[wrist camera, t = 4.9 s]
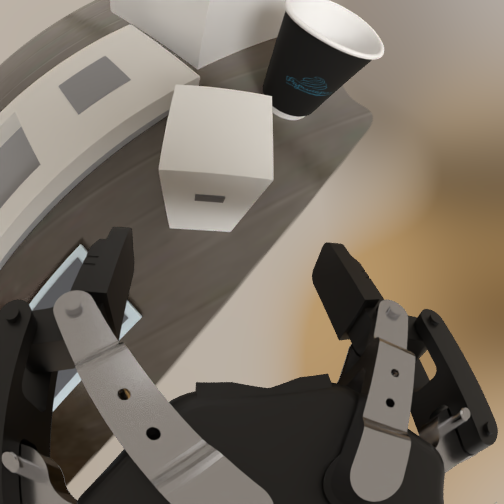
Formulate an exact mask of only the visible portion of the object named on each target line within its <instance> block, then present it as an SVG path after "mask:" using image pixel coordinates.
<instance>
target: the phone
mask: <svg viewBox="0 0 504 504" xmlns="http://www.w3.org/2000/svg"><path fill="white" fill-rule="evenodd" d="M87 253H88V251H87V250H86V249H85V247H84V246H83V245H82V244H80V245H79V246H78V247H77V248H76V249H75V250H74V252H73V253H72V254H71V255H70V256H69V257H68V258H67V259H66V260H65V261H64V263H63V264H62V265H61V266H60V267H59V268H58V269H57V271H56V272H55V273H54V274H53V275H52V276H51V278H50V279H49V280H48V281H47V282H46V284H45V285H44V286H43V287H42V288H41V290H40V291H39V292H38V294H37V295H36V296H35V297H34V299H33V300H32V301H31V303H30V304H29V306H30V308H31V310H32V311H34V310H40V309H46V308H51V307H54V305H55V302H56V301H57V299H58V298H59V297H60V296H62V295H63V294H65V293H67V292H70V290H71V288H72V285H73V283H74V281H75V279H76V276H77V274H78V272H79V270H80V268H81V266H82V265H83V261H84V259H85V257H86V255H87ZM141 317H142V315H141V314H140V313H139V312H138V311H137V310H136V309H135V307H134V306H133V305H132V304H131V303H130V302H129V301H128V300H127V303H126V308H125V312H124V317H123V322H122V327H121V333H120V338H119V340H120V339H121V338H122V337H123V336H124V335H125V334H126V333H127V332H128V331H129V330H130V329H131V328H132V327H133V326H134V325H135V324H136V323H137V322H138V321H139V320H140V318H141ZM80 381H81V378H80V376H79V374H78V372H77V370H76V368H74V369H67V370H60V371H58V375H57V381H56V388H55V395H54V403H53V411H54V410H55V409H56V408H57V406H58V405H59V404H60V403H61V402H62V401H63V400H64V399H65V398H66V396H67V395H68V394H69V393H70V392H71V391H72V390H73V389H74V388H75V387H76V385H77V384H78V383H79V382H80Z"/></svg>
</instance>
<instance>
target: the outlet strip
mask: <svg viewBox="0 0 504 504" xmlns="http://www.w3.org/2000/svg"><path fill="white" fill-rule="evenodd" d="M199 81H200V76H199V75H198V74H197V73H195V72H194V71H193V70H192V69H190V68H189V67H188V66H187V65H186V64H184V63H183V62H182V61H181V60H179V59H178V58H177V57H175V56H174V55H173V54H172V53H170V52H169V51H168V50H166V49H165V48H164V47H162V46H161V45H160V44H158V43H157V42H155V41H154V40H153V39H151V38H150V37H149V36H147V35H146V34H144V33H143V32H141V31H140V30H139V29H137V28H136V27H134V26H133V25H131V24H130V25H127V26H125V27H123V28H121V29H119V30H117V31H115V32H113V33H111V34H109V35H107V36H105V37H103V38H101V39H99V40H97V41H96V42H94V43H92V44H90V45H88V46H87V47H85V48H83V49H82V50H80V51H78V52H77V53H75V54H73V55H72V56H70V57H69V58H67V59H66V60H64V61H63V62H61V63H60V64H58V65H57V66H55V67H54V68H53V69H51V70H50V71H48V72H47V73H46V74H44V75H43V76H42V77H40V78H39V79H38V80H37V81H35V82H34V83H33V84H32V85H30V86H29V87H28V88H27V89H25V90H24V91H23V92H22V93H21V94H20V95H18V96H17V97H16V98H15V99H14V100H13V101H12V102H11V103H10V104H9V105H7V106H6V107H5V108H4V109H3V110H2V111H1V112H0V270H1V268H2V267H3V266H4V264H5V263H6V262H7V260H8V259H9V258H10V256H11V255H12V254H13V252H14V251H15V250H16V249H17V247H18V246H19V245H20V244H21V243H22V241H23V240H24V239H25V238H26V237H27V235H28V234H29V233H30V232H31V231H32V230H33V229H34V227H35V226H36V225H37V224H38V223H39V222H40V221H41V220H42V219H43V218H44V217H45V216H46V214H47V213H48V212H49V211H50V210H51V209H52V208H53V207H54V206H55V205H56V204H57V203H58V202H59V201H60V200H61V199H62V198H63V197H64V196H65V195H66V194H67V193H69V192H70V191H71V190H72V189H73V188H74V187H75V186H76V185H77V184H78V183H79V182H80V181H82V180H83V179H84V178H85V177H86V176H87V175H88V174H90V173H91V172H92V171H93V170H94V169H95V168H97V167H98V166H99V165H100V164H101V163H103V162H104V161H105V160H106V159H108V158H109V157H110V156H111V155H113V154H114V153H115V152H116V151H118V150H119V149H120V148H122V147H123V146H124V145H126V144H127V143H128V142H130V141H131V140H133V139H134V138H135V137H137V136H138V135H139V134H141V133H142V132H144V131H145V130H147V129H148V128H150V127H151V126H153V125H154V124H156V123H157V122H159V121H160V120H162V119H163V118H165V117H166V116H168V115H169V111H170V106H171V102H172V98H173V93H174V89H175V85H176V84H178V85H194V86H199Z"/></svg>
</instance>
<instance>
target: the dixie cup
mask: <svg viewBox="0 0 504 504" xmlns="http://www.w3.org/2000/svg"><path fill="white" fill-rule="evenodd" d="M284 8H285V10H286V11H285V14H284V17H283V20H282V23H281V27H280V30H279V33H278V37H277V40H276V43H275V47H274V50H273V53H272V57H271V60H270V64H269V67H268V71H267V74H266V78H265V81H264V85H263V95H268V96H272V112H273V113H274V114H275V115H277V116H279V117H281V118H284V119H288V120H299V119H302V118H303V117H305V116H307V115H309V114H311V113H312V112H313V111H314V110H316V109H317V108H318V107H319V106H320V105H321V104H322V103H323V102H324V101H325V100H326V99H328V98H329V97H330V96H331V95H332V94H333V93H334V92H335V91H337V90H338V89H339V88H340V87H341V86H342V85H343V84H344V83H346V82H347V81H348V80H349V79H350V78H351V77H352V76H354V75H355V74H356V73H357V72H358V71H359V70H361V69H362V68H363V67H364V66H365V65H367V64H368V63H369V62H370V61H371V60H374V59H378V58H380V57H381V56H383V53H384V46H383V43H382V41H381V39H380V38H379V36H378V34H377V33H376V32H375V31H374V30H373V29H372V28H371V27H370V26H369V25H368V24H367V23H366V22H365V21H364V20H362V19H361V18H360V17H359V16H357V15H356V14H354V13H353V12H351V11H350V10H348V9H346V8H344V7H343V6H341V5H339V4H336V3H334V2H332V1H329V0H285V2H284Z"/></svg>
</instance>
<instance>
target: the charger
mask: <svg viewBox="0 0 504 504" xmlns="http://www.w3.org/2000/svg"><path fill="white" fill-rule="evenodd" d="M158 170H159V176H160V182H161V187H162V193H163V198H164V203H165V208H166V213H167V218H168V222H169V227H170V228H175V229H192V230H208V231H224V232H231V231H232V230H233V228H234V227H235V226H236V225H237V223H238V222H239V221H240V220H241V218H242V217H243V216H244V215H245V214H246V212H247V211H248V210H249V209H250V208H251V206H252V205H253V204H254V203H255V201H256V200H257V199H258V198H259V197H260V195H261V194H262V193H263V192H264V191H265V190H266V188H267V187H268V186H269V185H270V184H271V182H272V181H273V118H272V96H268V95H263V94H257V93H251V92H245V91H239V90H231V89H224V88H215V87H205V86H194V85H178V84H176V85H175V89H174V93H173V98H172V102H171V106H170V111H169V115H168V120H167V125H166V129H165V135H164V140H163V145H162V151H161V157H160V163H159V169H158Z"/></svg>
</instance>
